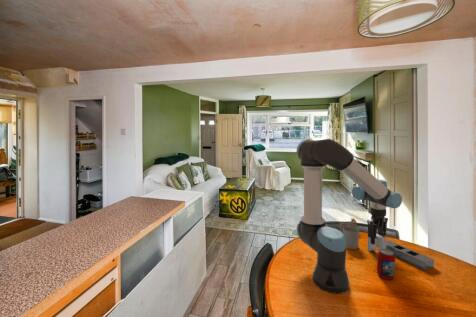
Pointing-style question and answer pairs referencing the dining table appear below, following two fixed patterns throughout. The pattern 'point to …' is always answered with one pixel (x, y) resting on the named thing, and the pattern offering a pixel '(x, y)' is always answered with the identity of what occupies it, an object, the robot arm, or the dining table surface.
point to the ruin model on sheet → (347, 224)
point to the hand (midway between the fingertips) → (376, 248)
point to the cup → (351, 237)
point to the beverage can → (386, 264)
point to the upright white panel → (380, 241)
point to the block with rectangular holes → (410, 255)
